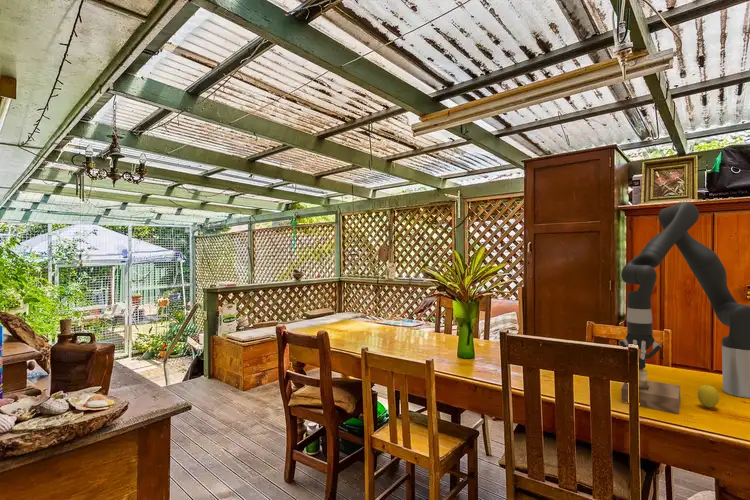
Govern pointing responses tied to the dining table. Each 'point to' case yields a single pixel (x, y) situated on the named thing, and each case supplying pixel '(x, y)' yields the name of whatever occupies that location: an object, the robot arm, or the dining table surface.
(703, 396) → the lemon
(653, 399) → the board
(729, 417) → the dining table surface
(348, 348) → the dining table surface
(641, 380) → the peg
